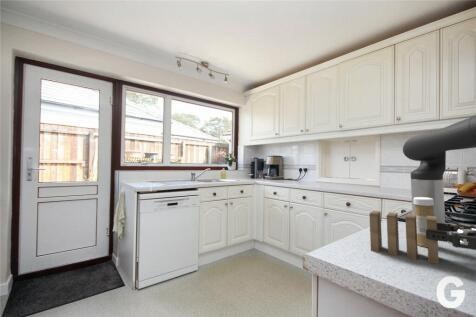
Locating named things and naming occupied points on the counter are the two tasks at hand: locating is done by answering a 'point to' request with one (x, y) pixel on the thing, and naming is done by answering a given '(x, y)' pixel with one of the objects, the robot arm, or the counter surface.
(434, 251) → the domino
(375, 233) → the end domino
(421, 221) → the sprinkles bottle
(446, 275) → the counter surface
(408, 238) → the domino
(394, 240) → the domino
